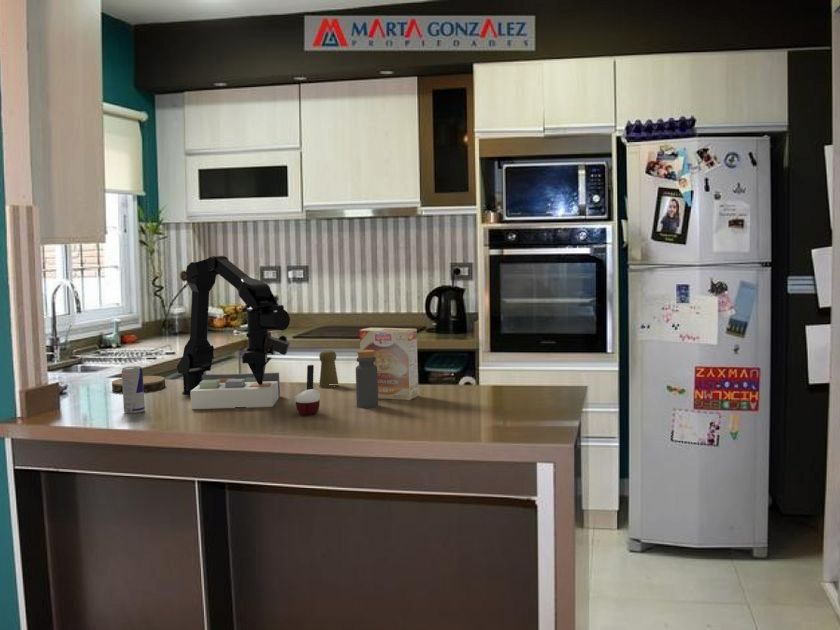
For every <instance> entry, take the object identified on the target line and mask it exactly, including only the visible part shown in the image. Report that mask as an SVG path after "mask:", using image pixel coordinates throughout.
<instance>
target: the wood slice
mask: <svg viewBox="0 0 840 630" xmlns="http://www.w3.org/2000/svg"><path fill="white" fill-rule="evenodd" d="M143 386H144V393H151V392H155V391H156V392H157V391H161V390H162V389H165V388H166V379H165V377H164V376H160V375H143ZM111 390H112V392H113V393H117V394H123V386H122V378H118V379H114V380H113V381H112V380H111Z"/></svg>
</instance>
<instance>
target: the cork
mask: <svg viewBox="0 0 840 630" xmlns="http://www.w3.org/2000/svg"><path fill="white" fill-rule="evenodd" d="M318 357H319V361H320V362H321V365H320V375H319V384H320V385H319V384H318V386H319V388H322V387H324V389H327V388H329V389H330V388H331V389H332V388H335V387H334V386H338V385H329V384H339V380H338V379H339V378H338V373H337V367H336V360H337V353H336V351H334V350H330V349H329V350H328V349H327V350H322V351H321V352H320V353H319V356H318ZM338 387H339V386H338Z"/></svg>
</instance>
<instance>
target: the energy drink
mask: <svg viewBox="0 0 840 630" xmlns="http://www.w3.org/2000/svg"><path fill="white" fill-rule="evenodd" d="M121 368H122V367H121ZM143 373H144V371H143V368H142V366H138V365H137V366H135V365H134V366H133V365H132V366H127V367H125V366H124V367H123V368H122V370H121V379H122V386H123V393H122V398H123V401H122V402H123V412H124V414H129V415H130V414H140V413H144V412H145V410H146V406H145V392H144V386H143V376H144V374H143Z"/></svg>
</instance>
